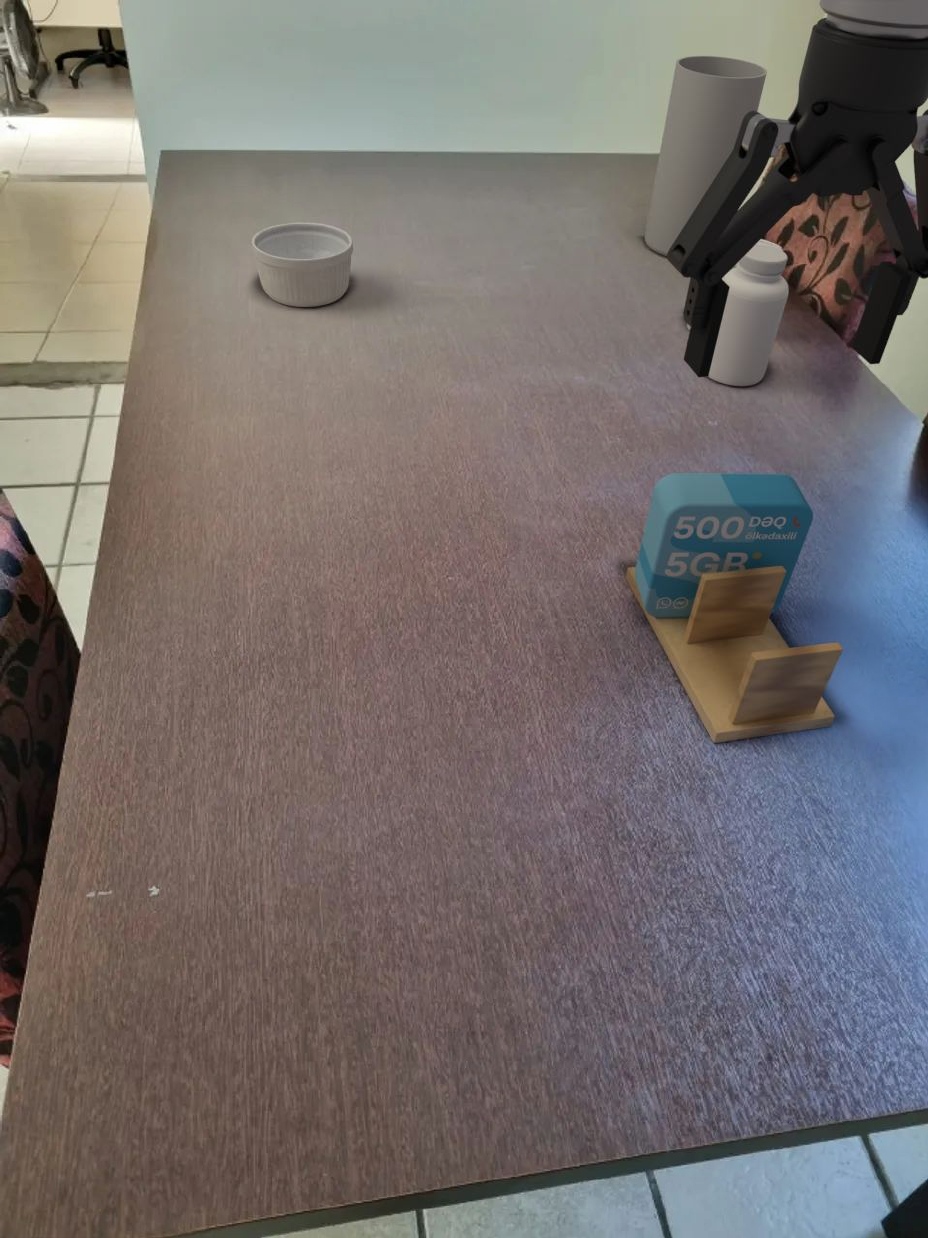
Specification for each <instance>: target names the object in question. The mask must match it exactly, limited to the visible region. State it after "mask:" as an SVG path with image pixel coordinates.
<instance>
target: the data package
mask: <svg viewBox="0 0 928 1238" xmlns="http://www.w3.org/2000/svg"><path fill="white" fill-rule="evenodd" d="M813 520H814V512H813V510H812V508H811V506H810V504H809V503H808V501H807V499H806V498H805V496H804V494H803V492H802V490H801V489H800V487H799V485H798V483H797V482H796V481H795V479H794V478H793V477H792V476H791V475H788V474H785V473H736V472H735V473H733V472H732V473H727V472H725V473H724V472H723V473H722V472H719V473H718V472H715V473H714V472H674V473H673V472H672V473H669V474H667V475H665V476H663V477H662V478H660V479H659V480H658V482H656V484H655V485H654V488H653V490H652V495H651V500H650V504H649V509H648V513H647V516H646V522H645V525H644V531H643V534H642V539H641V543H640V548H639V552H638V557H637V560H636V565H635V567H636V569H635V579H636V583H637V586H638V589H639V592H640V595H641V599H642V602H643V605H644V608H645V610H646V612H647V613H648V614H650V615H651V616H654V617H660V618H670V617H690V614H691V611H692V607H693V604H694V600H695V597H696V594H697V590H698V587H699V583H700V580H701V577H702V574H707V573H716V572H726V571H735V570H745V569H754V568H764V567H773V566H783V567H784V569H785V570H786V574H785V576H784V579H783V582H782V585H781V587H780V590H779V593H778V595H777V598H776V601H775V603H774V606H773V609H772V612H771V614H773V613H774V612H776V611H777V610H778V609H779V608H780V606H781V605H782V602H783V599H784V596H785V594H786V591H787V590H788V586H789V584H790V581H791V579H792V576H793V573H794V570H795V568H796V565H797V563H798V560H799V557H800V555H801V551H802V549H803V547H804V544H805V541H806V539H807V536H808V534H809V531H810V529H811V526H812V523H813Z"/></svg>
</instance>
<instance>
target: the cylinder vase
mask: <svg viewBox="0 0 928 1238" xmlns="http://www.w3.org/2000/svg"><path fill="white" fill-rule="evenodd" d="M674 67H675V68H674V73H673V78H672V83H671V88H670V95H669V99H668V105H667V111H666V116H665V122H664V126H663V127H664V128H663V133H662V139H661V144H660V149H659V155H658V160H657V166H656V171H655V177H654V183H653V188H652V194H651V199H650V204H649V211H648V215H647V220H646V226H645V230H644V231H645V232H644V242H645V244H646V246H647V247H648V248H649V249H651V250H652V251H653V252H655V253H657V254H660V255H661V256H665V257H667V253H668V251H669V249H670V248H671V246H672V244H673V243H674V241H675V240H676V238H677V237H678V235H679V234H680V232H681V230H682V229H683V227H684V226H685V224H686V223H687V221H688V219H689V218H690V216H691V215H692V213H693V212H694V210H695V209H696V207H697V205H698V204H699V202H700V201H701V199H702V198H703V196H704V194H705V193H706V191H707V190H708V188H709V187H710V185H711V184H712V182H713V180H714V179H715V177H716V176H717V174H718V173H719V171H720V169H721V168H722V166H723V165H724V163H725V162H726V160H727V159H728V157H729V155H730V154H731V152H732V151H733V149H734V146H735V143H736V139H737V136H738V133H739V130H740V127H741V124H742V121H743V118H744V116H745V115H746V114H747V113H748V112H750V111H757V112H759V106H760V103H761V98H762V95H763V90H764V86H765V82H766V78H767V73H768V71H767V69H766V68H765V67H763V66H762V65H759V64H757V63H754V62H750V61H746V60H743V59H739V58H738V59H737V58H732V57H725V56H716V55H713V56H712V55H692V56H691V55H690V56H684V57H680V58H678V59H677V60H676V62H675V66H674Z"/></svg>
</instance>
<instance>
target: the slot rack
mask: <svg viewBox="0 0 928 1238" xmlns="http://www.w3.org/2000/svg"><path fill="white" fill-rule="evenodd" d="M635 569H636V566H632V567H631V566H630V567H627V569H626V574H625V579H626V581H627V583H628V586H629V587H630V589H631V590H632V593H633V594H634V596H635V598H636V600H637V602H638V604H639V605H640V607H641V609H642V611H643V613H644V615H645V617H646V619H647V621H648V622H649V624H650V626H651V628H652V630H653V632H654V634H655V636H656V637H657V639H658V641H659V644H660V645H661V647H662V649H663V651H664V653H665V655H666V656H667V658H668V660H669V662H670V664H671V666H672V667H673V669H674V671H675V673H676V676H677V677H678V679H679V681H680V683H681V685H682V686H683V688H684V690H685V692H686V694H687V696H688V698H689V699H690V702H691V703H692V705H693V707H694V709H695V711H696V713H697V714H698V717H699V719H700V721H701V722H702V724H703V726H704V727H705V730H706V732H707V734H708V735H709V737H710V740H711V741H712V743H713V744H716V743H718V744H719V743H724V742H732V741H738V739H739V740H744V739H752V738H759V737H764V736H765V737H766V736H772V735H773V736H774V735H780V734H786V733H794V732H801V731H808V730H814V729H821V728H829V727H831V726H832V724H833V722H834V720H835V718H836V716H835V714H834V712H833V711H832V709H831V708H830V707H829V705H828V703H827V701H826V700H825V699H824V698H823V695H824V692H825V690H826V688H827V686H828V684H829V681H830V679H831V676H832V675H833V673H834V671H835V669H836V666H837V664H838V661H839V659H840V657H841V654H842V652H843V651H844V648H843V647H842V645H841V644H840V643H839V641H836V642H835V641H834V642H827V643H818V644H810V645H805V646H804V645H803V646H795V647H789V645H788V644H787V643H786V640H785V639H784V638H783V636H782V635H781V633H780V632H779V630H778V629H777V627H776V626H775V624H774V623H773V622H772V620H771V619H770V616H771V614H772V613H771V612H772V609H773V606H774V603H775V601H776V598H777V595H778V593H779V590H780V587H781V585H782V582H783V579H784V576H785V574H786V570H785V569H784V567H783V566H773V567H764V568H754V569H745V570H735V571H726V572H716V573H707V574H702V577H701V580H700V583H699V587H698V590H697V594H696V597H695V600H694V604H693V607H692V611H691V614H690V617H670V618H660V617H654V616H651V615H650V614H648V613H647V612H646V610H645V608H644V605H643V602H642V599H641V595H640V592H639V589H638V586H637V583H636V579H635ZM807 729H808V730H807ZM793 731H794V732H793Z"/></svg>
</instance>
